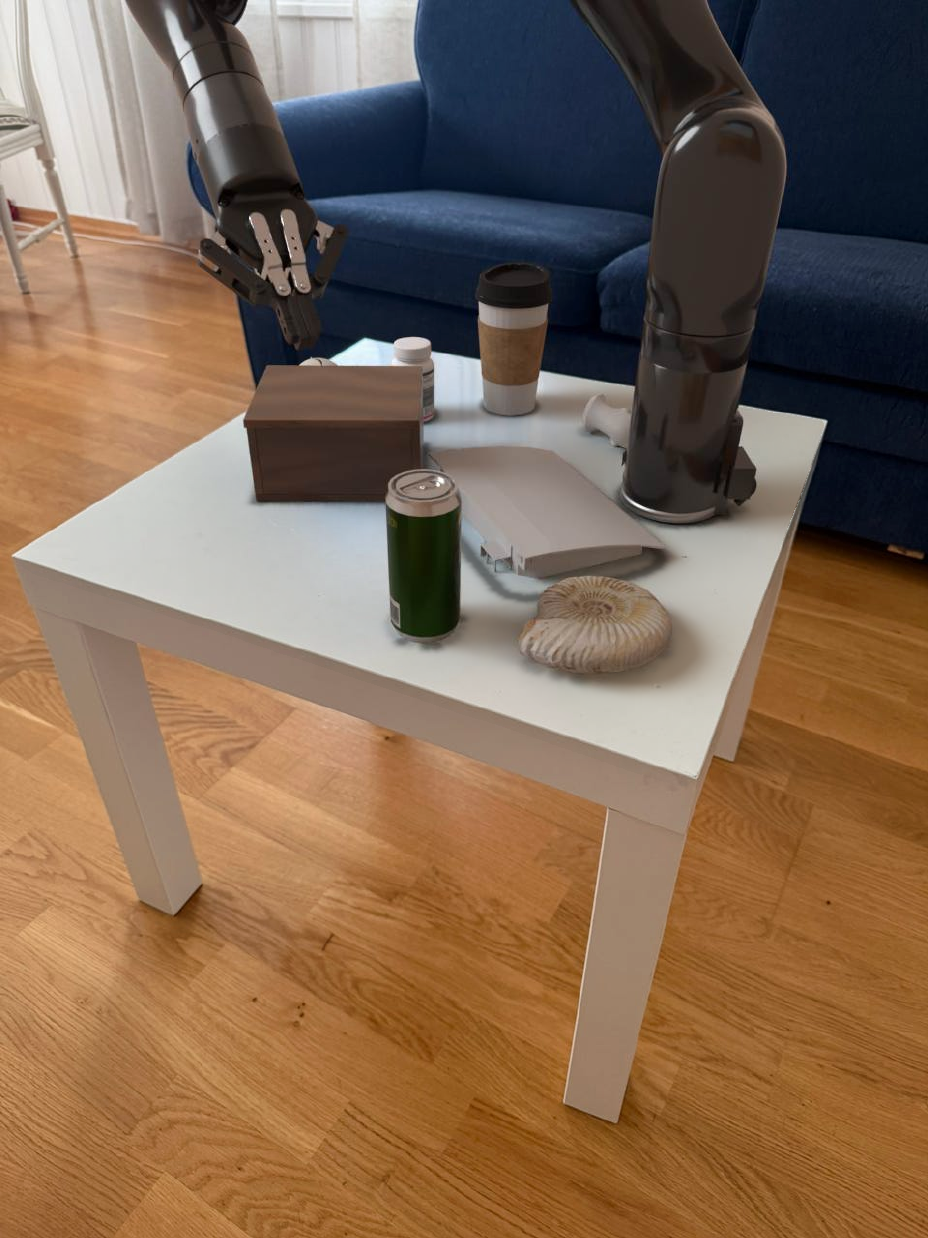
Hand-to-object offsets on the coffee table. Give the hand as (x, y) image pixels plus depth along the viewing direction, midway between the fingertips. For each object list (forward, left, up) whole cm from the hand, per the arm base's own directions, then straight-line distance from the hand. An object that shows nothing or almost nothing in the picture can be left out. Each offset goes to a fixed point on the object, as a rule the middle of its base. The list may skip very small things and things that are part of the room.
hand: (307, 344), depth 73 cm
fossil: (-23, +18, -17) cm, 33 cm away
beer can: (-10, +16, -17) cm, 25 cm away
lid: (-1, -10, -9) cm, 13 cm away
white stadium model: (-19, 0, -17) cm, 26 cm away
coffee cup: (-19, -27, -17) cm, 37 cm away
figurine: (+2, -23, -17) cm, 29 cm away
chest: (-1, -10, -16) cm, 19 cm away
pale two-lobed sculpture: (-30, -18, -17) cm, 38 cm away
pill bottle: (-8, -24, -17) cm, 30 cm away
